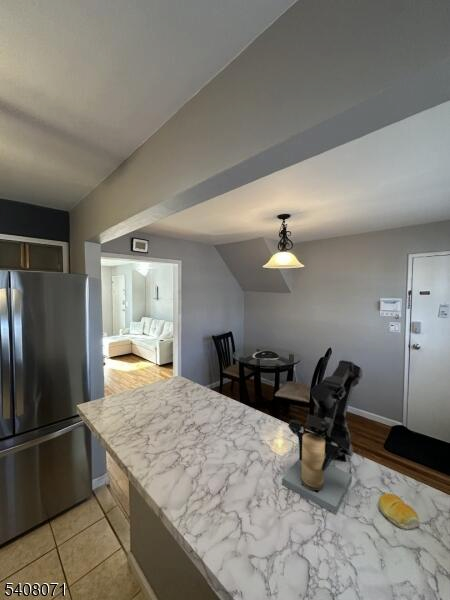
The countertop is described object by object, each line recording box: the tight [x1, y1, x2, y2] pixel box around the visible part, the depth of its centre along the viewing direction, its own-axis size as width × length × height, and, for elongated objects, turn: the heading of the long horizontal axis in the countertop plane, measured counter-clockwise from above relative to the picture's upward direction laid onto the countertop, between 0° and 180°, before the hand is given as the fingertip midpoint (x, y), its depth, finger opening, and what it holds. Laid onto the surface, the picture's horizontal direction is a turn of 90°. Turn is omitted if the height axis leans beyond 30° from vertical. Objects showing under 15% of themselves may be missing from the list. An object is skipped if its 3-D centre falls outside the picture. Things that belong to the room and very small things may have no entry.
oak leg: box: [301, 433, 326, 493], centre depth 75 cm, size 6×6×15 cm
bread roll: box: [378, 493, 420, 530], centre depth 67 cm, size 8×9×4 cm
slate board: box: [281, 458, 353, 515], centre depth 78 cm, size 16×16×2 cm
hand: (311, 465), depth 74 cm, fingers closed on oak leg, 6 cm apart
